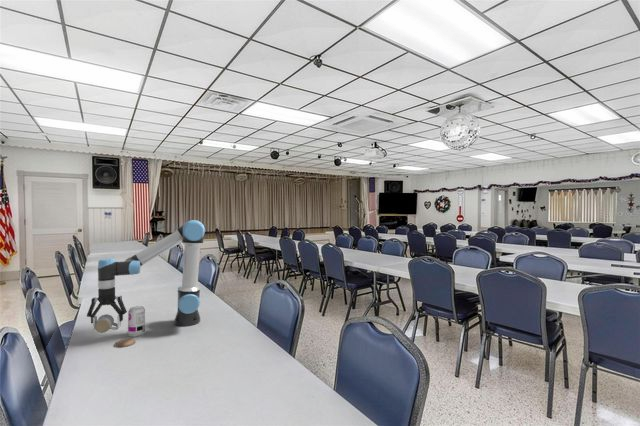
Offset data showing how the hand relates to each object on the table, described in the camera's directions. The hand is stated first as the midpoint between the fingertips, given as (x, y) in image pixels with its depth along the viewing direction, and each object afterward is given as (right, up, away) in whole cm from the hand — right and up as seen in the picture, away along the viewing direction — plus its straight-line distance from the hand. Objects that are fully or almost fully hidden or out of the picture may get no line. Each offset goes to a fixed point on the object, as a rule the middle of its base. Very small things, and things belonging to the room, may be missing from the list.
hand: (107, 328), depth 170 cm
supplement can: (+11, -7, +8) cm, 15 cm away
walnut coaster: (+13, -7, -5) cm, 15 cm away
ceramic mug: (0, -1, 0) cm, 1 cm away
